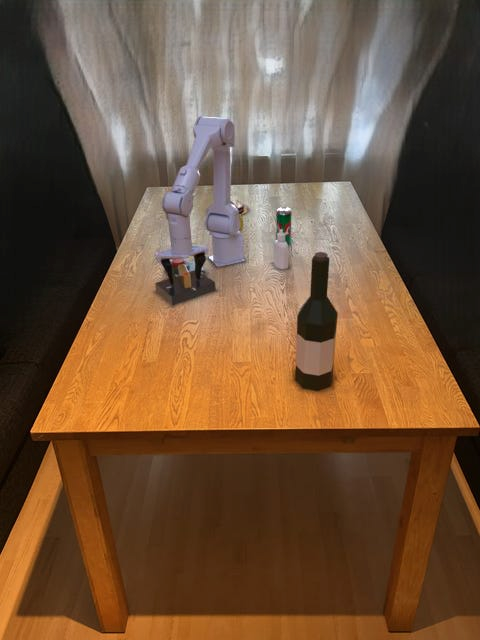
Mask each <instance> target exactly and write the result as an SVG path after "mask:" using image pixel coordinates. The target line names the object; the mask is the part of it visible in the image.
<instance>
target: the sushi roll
mask: <svg viewBox="0 0 480 640" xmlns="http://www.w3.org/2000/svg"><path fill="white" fill-rule="evenodd" d="M213 204H214V202H213V203H212V205H213ZM231 204H232V205H233V206H234V207H235V208H237V209H238V210H239V214H240V215H241V216H243V215H245V214H247V212H248V207H247V206H246V205H244V203H243V202H242V201H240V200H239V199H237V200H234V199H231Z"/></svg>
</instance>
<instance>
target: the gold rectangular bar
mask: <svg viewBox="0 0 480 640" xmlns="http://www.w3.org/2000/svg"><path fill="white" fill-rule="evenodd" d="M178 272H179V278H180V280H181V282H182V284H183V286H184V287H185V288H191V279H190V274H189V272H188V270H187V269H186V267H185V265H184V264H180V265H178Z"/></svg>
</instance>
